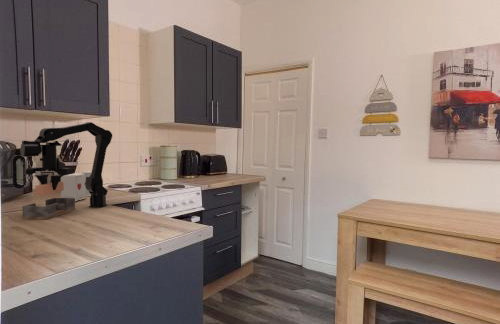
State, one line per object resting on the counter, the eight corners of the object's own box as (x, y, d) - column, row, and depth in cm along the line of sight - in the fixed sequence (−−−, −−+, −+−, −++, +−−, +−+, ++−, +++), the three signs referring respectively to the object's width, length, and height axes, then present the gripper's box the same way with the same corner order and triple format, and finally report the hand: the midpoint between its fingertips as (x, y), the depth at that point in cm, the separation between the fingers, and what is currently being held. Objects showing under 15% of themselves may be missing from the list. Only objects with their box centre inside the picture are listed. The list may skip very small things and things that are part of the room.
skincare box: (81, 197, 184) (80, 172, 183) (83, 195, 190) (82, 171, 189) (96, 196, 186) (96, 171, 185) (98, 194, 192) (98, 170, 191)
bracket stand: (75, 209, 152) (74, 198, 152) (46, 219, 132) (46, 206, 132) (54, 208, 153) (54, 197, 152) (22, 219, 132) (22, 206, 132)
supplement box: (76, 202, 168) (76, 175, 167) (60, 202, 169) (59, 174, 168) (86, 199, 177) (85, 173, 176) (70, 199, 178) (69, 173, 177)
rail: (56, 189, 149) (56, 181, 148) (63, 190, 148) (63, 181, 148) (35, 195, 135) (35, 185, 134) (43, 195, 134) (43, 186, 134)
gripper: (79, 155, 148) (80, 187, 149) (41, 154, 149) (42, 187, 150) (65, 156, 137) (66, 191, 138) (24, 155, 138) (25, 190, 139)
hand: (50, 190), depth 142 cm, fingers closed on rail, 3 cm apart
